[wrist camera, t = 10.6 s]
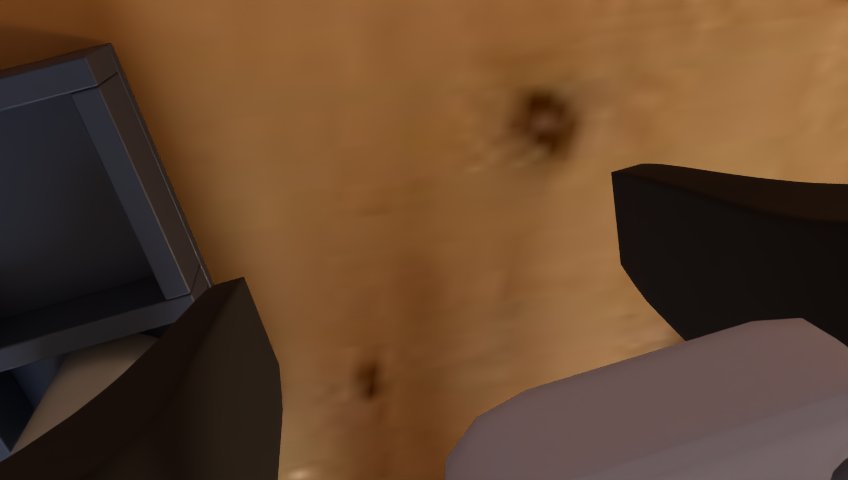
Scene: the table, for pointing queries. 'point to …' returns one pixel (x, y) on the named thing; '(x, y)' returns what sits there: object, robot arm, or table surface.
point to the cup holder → (81, 225)
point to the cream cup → (82, 382)
